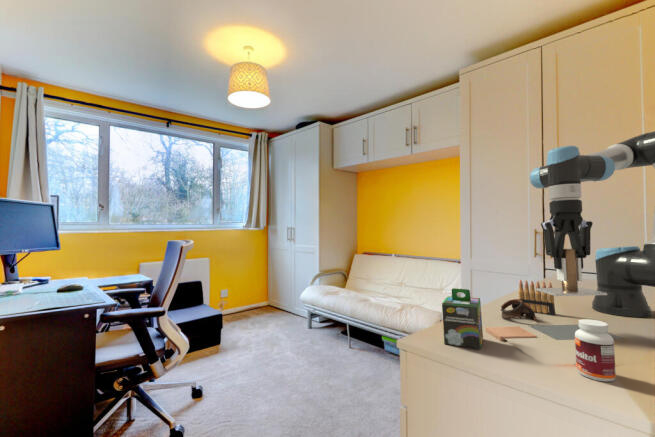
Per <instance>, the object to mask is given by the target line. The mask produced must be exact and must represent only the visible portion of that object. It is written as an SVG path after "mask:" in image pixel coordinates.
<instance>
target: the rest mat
mask: <svg viewBox="0 0 655 437" xmlns="http://www.w3.org/2000/svg"><path fill="white" fill-rule="evenodd" d="M528 327H530V328H531V329H534V330H535V331H537V332H540V333H542V334H544V335H546V336H548V337H549V338H552V339H554V340H556V341H566V340H567V341H568V340H569V341H570V340H571V341H572V340H573V341H575V332H576V331H577V330H579V329H580V327H579V324H547V325H546V324H545V325H543V324H542V325H540V324H539V325H537V324H535V325H528ZM607 334H609V335H610V336H612V338H613V340H616V339H617V340H622V339H623V340H625V339H626V338H624V337H622V336H619V335H617V334H614V333H610V332H609V331H608V332H607Z"/></svg>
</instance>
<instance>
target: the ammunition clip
mask: <svg viewBox="0 0 655 437" xmlns="http://www.w3.org/2000/svg"><path fill="white" fill-rule="evenodd" d="M536 288H553V284H552V282H548V286H547V285H546V283H545V281H542V284H541V286H540V282H539V280H537V281H536V285H535V284H534V281H533V280H531V281H530V284H529V282H528V280H525V281H524V285H523V281H522V279H519V282H518V299H520V300H522V301H523V303H526V304H527V305H529V306H530V307H531V308H532V310H533V311H534V314H537V315H538V314H540V315H547V316H552V317H556V308H555V296H554V295H551V294H547V293H544V292H541V291H537V290H536Z"/></svg>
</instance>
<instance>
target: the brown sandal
mask: <svg viewBox="0 0 655 437" xmlns="http://www.w3.org/2000/svg"><path fill="white" fill-rule="evenodd" d="M510 306H511V309H508V310H507V308H508V307H510ZM500 311H501V318H502V319H514V318H520V319H522V318H523V316H525V317H526V318H527V319H532V320H534V322H535V323H537V322H538V320H537V316H536V313H534V311H533V310H532V308H531V307H530V306H529V305H527V304H526V303H523V301H522V300H520V299H519V298H514V299H509V300H507V301H505V302H504V303H503V304H502V305H501V306H500Z"/></svg>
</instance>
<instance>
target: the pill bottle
mask: <svg viewBox="0 0 655 437" xmlns="http://www.w3.org/2000/svg"><path fill="white" fill-rule="evenodd" d="M578 325H579V327H580V329H579V330H577V331H576V332H575V340H574V342H575V345H574V346H575V362H576V363H575V364H576V371H577V372H578V373H579V374H580V375H582V376H583V377H586V378H587V379H592V380H594V381H599V382H604V383H605V382H613V381H615V380H616V377H617V376H616V374H617V372H616V357H615V342H614V340H615V339H613V338H612V336H610V335H609V334H607V332H608V333H609V325H608V323H606V322H604V321H602V320H597V319H587V318H586V319H582V318H581V319H578Z"/></svg>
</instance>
